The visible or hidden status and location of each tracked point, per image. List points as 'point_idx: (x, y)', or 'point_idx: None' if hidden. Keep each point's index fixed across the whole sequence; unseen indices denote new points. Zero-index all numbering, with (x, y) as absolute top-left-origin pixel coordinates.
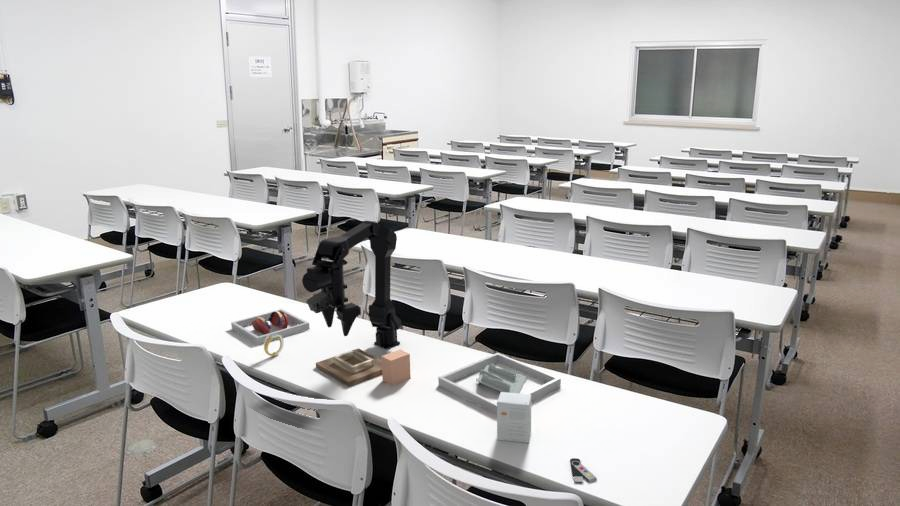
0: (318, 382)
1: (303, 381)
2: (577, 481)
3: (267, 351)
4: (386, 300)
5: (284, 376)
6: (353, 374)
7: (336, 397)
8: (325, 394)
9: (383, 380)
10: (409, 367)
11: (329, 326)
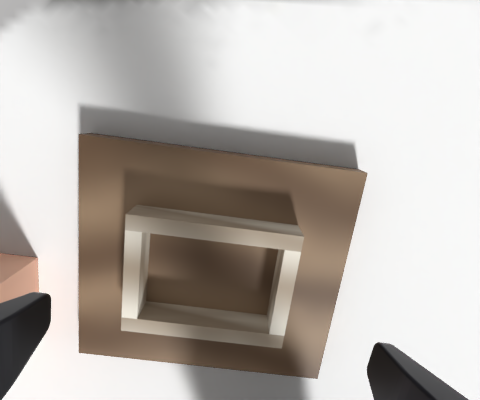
0: (229, 73)
1: (295, 31)
2: None
3: None
4: None
5: (418, 3)
6: (127, 202)
7: (41, 23)
8: (103, 9)
9: (29, 258)
10: None
11: (376, 358)
